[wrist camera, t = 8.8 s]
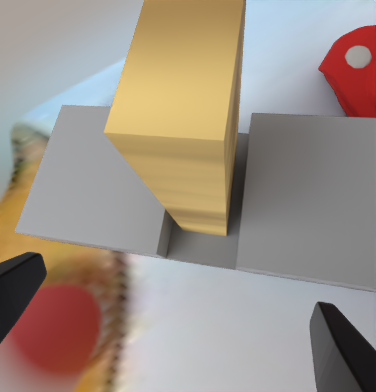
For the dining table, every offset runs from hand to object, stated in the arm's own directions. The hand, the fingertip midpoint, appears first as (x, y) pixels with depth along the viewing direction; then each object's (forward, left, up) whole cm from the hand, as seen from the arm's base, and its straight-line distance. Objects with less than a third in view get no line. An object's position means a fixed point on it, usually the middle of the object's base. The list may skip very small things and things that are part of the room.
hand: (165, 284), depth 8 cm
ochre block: (+6, +2, -9) cm, 11 cm away
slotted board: (+6, +2, -9) cm, 11 cm away
